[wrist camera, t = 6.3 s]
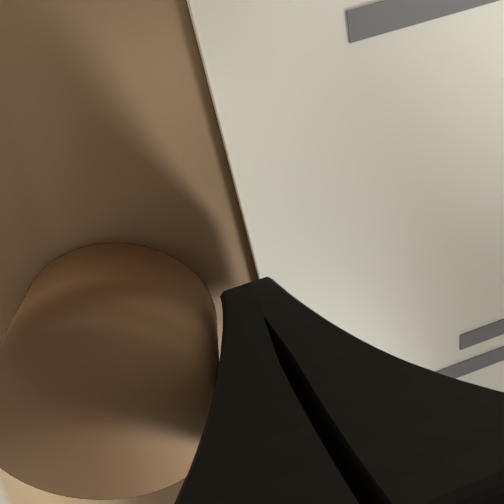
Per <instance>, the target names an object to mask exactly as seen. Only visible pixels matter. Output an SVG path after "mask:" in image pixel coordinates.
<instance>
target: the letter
mask: <svg viewBox="0 0 504 504" xmlns="http://www.w3.org/2000/svg"><path fill="white" fill-rule="evenodd" d="M186 1H187V5H188V9H189V13H190V16H191V20H192V24H193V28H194V32H195V36H196V40H197V43H198V47H199V51H200V55H201V59H202V63H203V67H204V70H205V74H206V78H207V82H208V86H209V90H210V94H211V97H212V101H213V105H214V109H215V113H216V117H217V121H218V124H219V128H220V132H221V136H222V140H223V144H224V148H225V151H226V155H227V159H228V163H229V167H230V171H231V175H232V179H233V182H234V186H235V190H236V194H237V198H238V202H239V206H240V209H241V213H242V217H243V221H244V225H245V229H246V233H247V236H248V240H249V244H250V248H251V252H252V256H253V260H254V263H255V267H256V271H257V275H258V279H262V278H264V277H269V278H271V279H273V280H274V281H275V282H276V283H278V284H279V285H280V286H281V287H282V288H284V289H285V290H286V291H287V292H289V293H290V294H291V295H292V296H294V297H295V298H296V299H298V300H299V301H300V302H302V303H303V304H304V305H306V306H307V307H309V308H310V309H312V310H313V311H315V312H316V313H318V314H319V315H320V316H322V317H323V318H325V319H326V320H328V321H330V322H331V323H333V324H334V325H336V326H338V327H339V328H341V329H343V330H345V331H346V332H348V333H350V334H351V335H353V336H355V337H357V338H359V339H360V340H362V341H364V342H366V343H368V344H370V345H372V346H374V347H376V348H378V349H380V350H382V351H385V352H387V353H389V354H391V355H393V356H395V357H398V358H400V359H402V360H405V361H407V362H410V363H412V364H415V365H418V366H421V367H423V368H426V369H429V370H432V371H435V372H437V373H440V374H443V375H446V376H449V377H452V378H455V379H458V380H461V381H465V382H468V383H472V384H475V385H479V386H482V387H486V388H489V389H493V390H497V391H501V392H504V0H186Z"/></svg>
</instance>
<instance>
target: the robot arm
mask: <svg viewBox="0 0 504 504" xmlns="http://www.w3.org/2000/svg"><path fill="white" fill-rule="evenodd" d="M220 298H221V301H222V308H223V333H222V345H221V355H220V361H219V367H218V373H217V379H216V384H215V389H214V394H213V398H212V402H211V406H210V409H209V413H208V417H207V420H206V424H205V427H204V430H203V433H202V436H201V439H200V442H199V445H198V448H197V451H196V454H195V456H194V459H193V462H192V464H191V467H190V469H189V472H188V474H187V476H186V479H185V481H184V483H183V485H182V488H181V490H180V492H179V495H178V497H177V499H176V502H175V504H504V392H501V391H497V390H493V389H489V388H486V387H482V386H479V385H475V384H472V383H468V382H465V381H461V380H458V379H455V378H452V377H449V376H446V375H443V374H440V373H437V372H435V371H432V370H429V369H426V368H423V367H421V366H418V365H415V364H412V363H410V362H407V361H405V360H402V359H400V358H398V357H395V356H393V355H391V354H389V353H387V352H385V351H382V350H380V349H378V348H376V347H374V346H372V345H370V344H368V343H366V342H364V341H362V340H360V339H359V338H357V337H355V336H353V335H351V334H350V333H348V332H346V331H345V330H343V329H341V328H339V327H338V326H336V325H334V324H333V323H331V322H330V321H328V320H326V319H325V318H323V317H322V316H320V315H319V314H318V313H316V312H315V311H313V310H312V309H310V308H309V307H307V306H306V305H304V304H303V303H302V302H300V301H299V300H298V299H296V298H295V297H294V296H292V295H291V294H290V293H289V292H287V291H286V290H285V289H284V288H282V287H281V286H280V285H279V284H278V283H276V282H275V281H274V280H273V279H271V278H269V277H264V278H262V279H259V280H256V281H253V282H250V283H247V284H244V285H241V286H238V287H235V288H232V289H229V290H226V291H224V292H223V293H222V295H221V296H220Z"/></svg>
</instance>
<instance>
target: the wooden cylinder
mask: <svg viewBox="0 0 504 504" xmlns="http://www.w3.org/2000/svg"><path fill="white" fill-rule="evenodd" d="M218 367H219V352H218V335H217V318H216V311H215V306H214V303H213V300H212V297H211V295H210V293H209V292H208V290H207V288H206V286H205V285H204V284H203V282H202V281H201V280H200V278H199V277H198V276H197V275H196V274H195V273H194V272H193V271H192V270H191V269H189V268H188V267H187V266H185V265H184V264H183V263H181V262H180V261H178V260H176V259H175V258H173V257H171V256H169V255H167V254H165V253H163V252H160V251H158V250H155V249H151V248H148V247H145V246H140V245H134V244H126V243H102V244H96V245H89V246H86V247H82V248H79V249H76V250H73V251H71V252H68V253H66V254H64V255H62V256H60V257H59V258H57V259H55V260H54V261H52V262H51V263H50V264H49V265H47V266H46V267H45V268H44V269H43V270H42V271H41V272H40V273H39V274H38V275H37V277H36V278H35V280H34V281H33V283H32V284H31V286H30V288H29V289H28V291H27V293H26V295H25V297H24V299H23V301H22V303H21V304H20V306H19V308H18V310H17V312H16V314H15V316H14V318H13V319H12V321H11V323H10V325H9V327H8V329H7V331H6V332H5V334H4V336H3V338H2V340H1V342H0V468H1V469H3V470H4V471H5V472H7V473H8V474H10V475H11V476H13V477H14V478H16V479H18V480H20V481H22V482H24V483H26V484H28V485H30V486H33V487H35V488H37V489H40V490H43V491H46V492H49V493H53V494H57V495H61V496H66V497H72V498H79V499H91V500H113V499H124V498H130V497H136V496H141V495H145V494H149V493H152V492H155V491H158V490H161V489H164V488H166V487H168V486H171V485H173V484H175V483H177V482H179V481H180V480H182V479H184V478H185V477H186V476H187V474H188V472H189V469H190V467H191V464H192V462H193V459H194V456H195V454H196V451H197V448H198V445H199V442H200V439H201V436H202V433H203V430H204V427H205V424H206V420H207V417H208V413H209V409H210V406H211V402H212V398H213V394H214V389H215V384H216V379H217V373H218Z"/></svg>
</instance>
